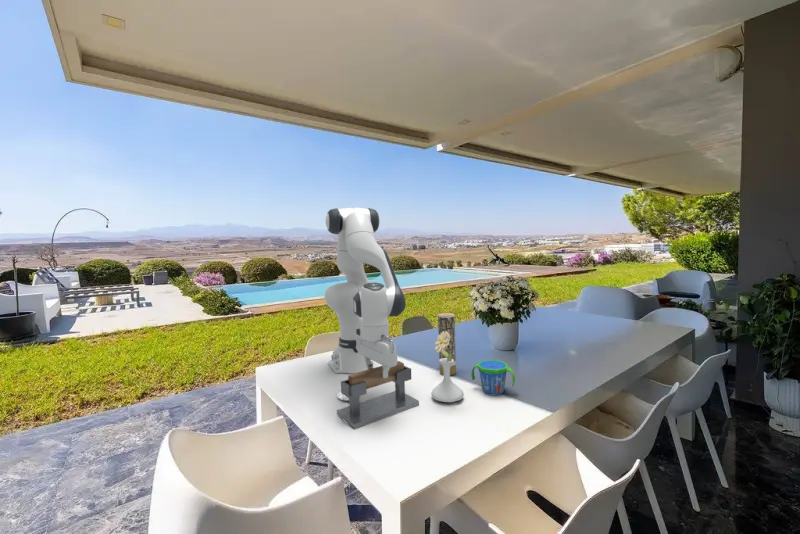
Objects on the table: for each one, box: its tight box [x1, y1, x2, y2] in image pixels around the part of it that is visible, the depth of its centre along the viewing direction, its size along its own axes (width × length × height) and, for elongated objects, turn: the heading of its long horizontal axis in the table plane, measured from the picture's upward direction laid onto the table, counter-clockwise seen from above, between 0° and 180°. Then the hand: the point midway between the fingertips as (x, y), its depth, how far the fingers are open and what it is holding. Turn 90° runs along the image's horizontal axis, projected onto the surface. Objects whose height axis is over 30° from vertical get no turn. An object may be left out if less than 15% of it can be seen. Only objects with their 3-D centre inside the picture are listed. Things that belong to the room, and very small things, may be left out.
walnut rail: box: [347, 360, 405, 390], centre depth 121 cm, size 3×20×5 cm, turn 126°
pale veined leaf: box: [336, 390, 349, 402], centre depth 132 cm, size 8×12×2 cm, turn 26°
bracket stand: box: [336, 365, 420, 430], centre depth 121 cm, size 12×25×12 cm, turn 126°
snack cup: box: [470, 359, 516, 396], centre depth 132 cm, size 16×10×10 cm
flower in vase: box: [430, 331, 464, 403], centre depth 126 cm, size 13×11×25 cm
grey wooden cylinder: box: [437, 312, 457, 377], centre depth 151 cm, size 7×7×25 cm
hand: (377, 373), depth 120 cm, fingers open, 8 cm apart
